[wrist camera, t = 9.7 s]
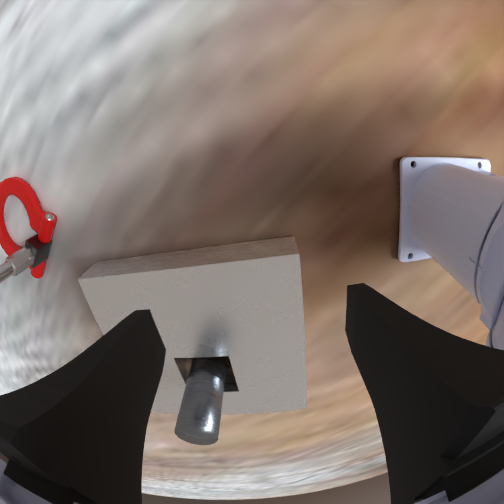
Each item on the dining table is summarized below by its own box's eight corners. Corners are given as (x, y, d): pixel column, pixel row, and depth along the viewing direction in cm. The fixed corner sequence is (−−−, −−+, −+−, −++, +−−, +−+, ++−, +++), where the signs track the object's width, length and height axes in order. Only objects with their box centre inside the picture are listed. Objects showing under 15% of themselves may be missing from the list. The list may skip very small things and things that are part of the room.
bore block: (293, 235, 20) (299, 253, 17) (303, 385, 26) (306, 408, 23) (95, 262, 21) (77, 279, 18) (155, 390, 27) (148, 411, 24)
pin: (225, 338, 23) (212, 426, 15) (231, 361, 25) (221, 445, 16) (192, 338, 24) (168, 423, 15) (199, 362, 25) (181, 443, 17)
